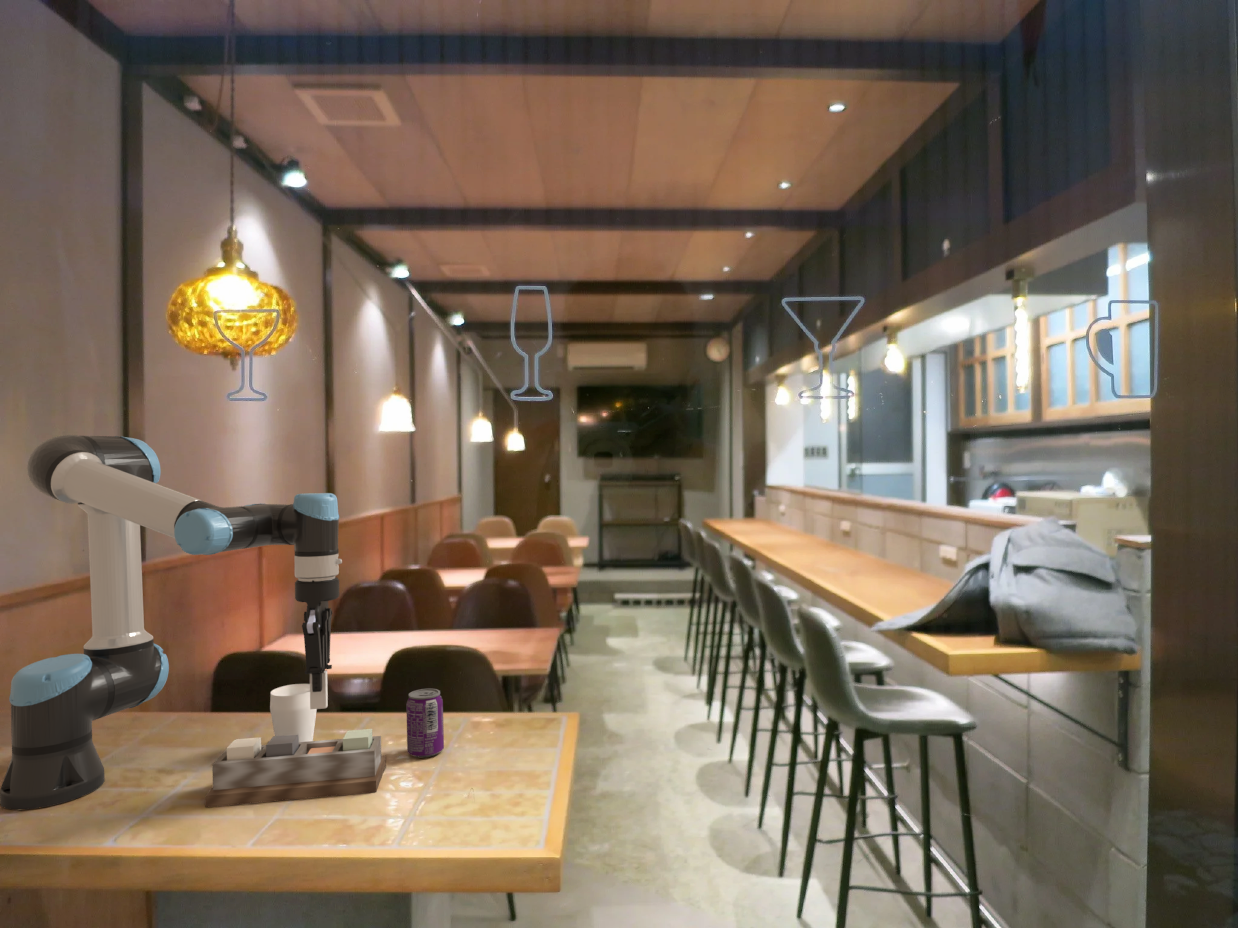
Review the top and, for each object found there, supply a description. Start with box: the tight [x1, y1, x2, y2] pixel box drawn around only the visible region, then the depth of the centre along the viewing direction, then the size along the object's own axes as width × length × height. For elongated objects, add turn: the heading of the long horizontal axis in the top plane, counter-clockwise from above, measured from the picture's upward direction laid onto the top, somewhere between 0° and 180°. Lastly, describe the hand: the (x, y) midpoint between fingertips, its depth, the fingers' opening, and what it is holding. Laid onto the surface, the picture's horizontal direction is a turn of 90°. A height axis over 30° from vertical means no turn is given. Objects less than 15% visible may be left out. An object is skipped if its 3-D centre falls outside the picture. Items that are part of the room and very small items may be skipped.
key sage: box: [342, 728, 373, 751], centre depth 138 cm, size 4×4×3 cm
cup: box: [269, 683, 318, 742], centre depth 155 cm, size 9×9×12 cm
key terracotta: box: [308, 746, 335, 754], centre depth 137 cm, size 4×4×3 cm
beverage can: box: [405, 688, 445, 759], centre depth 151 cm, size 7×7×12 cm
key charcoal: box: [265, 734, 299, 757], centre depth 136 cm, size 4×4×3 cm
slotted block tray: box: [204, 735, 387, 808], centre depth 136 cm, size 28×12×6 cm, turn 99°
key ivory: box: [226, 737, 262, 761], centre depth 135 cm, size 4×4×3 cm
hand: (319, 707), depth 137 cm, fingers closed
